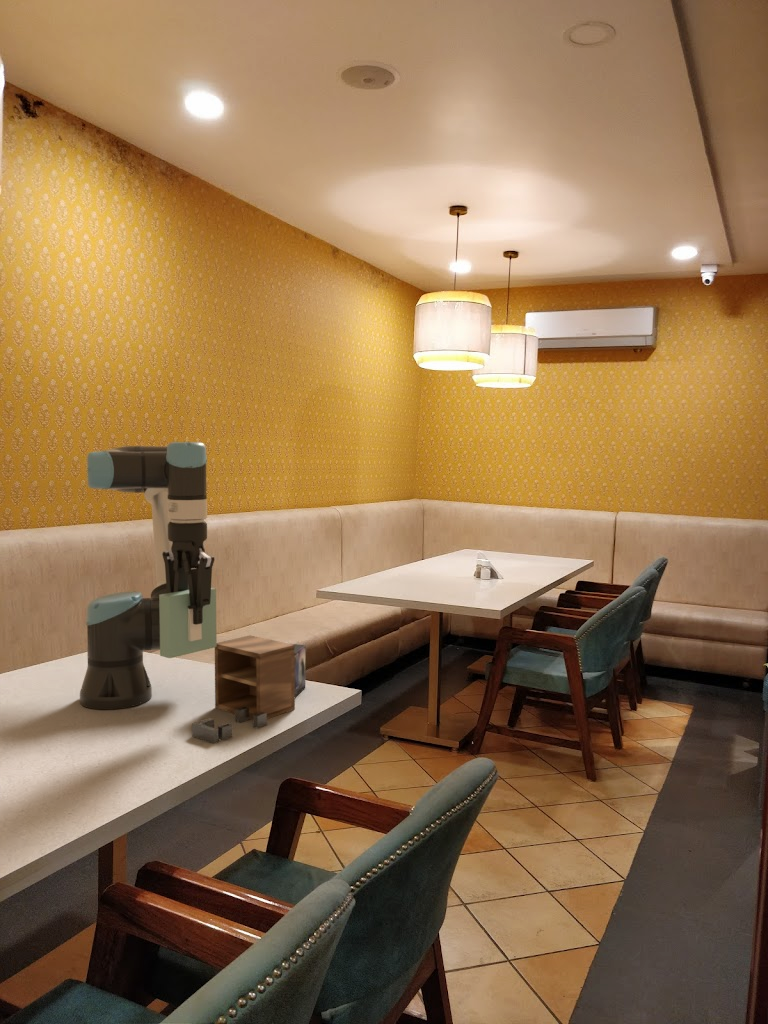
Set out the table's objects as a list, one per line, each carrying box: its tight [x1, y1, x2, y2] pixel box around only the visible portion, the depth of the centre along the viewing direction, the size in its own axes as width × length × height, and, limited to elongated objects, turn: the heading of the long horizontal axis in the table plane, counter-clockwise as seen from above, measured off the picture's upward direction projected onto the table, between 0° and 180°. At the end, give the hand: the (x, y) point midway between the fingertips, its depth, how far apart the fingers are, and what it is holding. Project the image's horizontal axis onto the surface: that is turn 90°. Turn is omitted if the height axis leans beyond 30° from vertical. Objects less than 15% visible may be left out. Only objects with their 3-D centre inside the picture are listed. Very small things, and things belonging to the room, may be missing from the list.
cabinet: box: [214, 634, 296, 720], centre depth 173 cm, size 14×10×14 cm
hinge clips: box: [191, 707, 268, 745], centre depth 160 cm, size 6×14×2 cm, turn 142°
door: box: [159, 587, 218, 659], centre depth 161 cm, size 3×12×12 cm, turn 142°
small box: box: [292, 643, 307, 698], centre depth 184 cm, size 11×6×10 cm, turn 168°
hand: (188, 638), depth 161 cm, fingers closed on door, 3 cm apart
